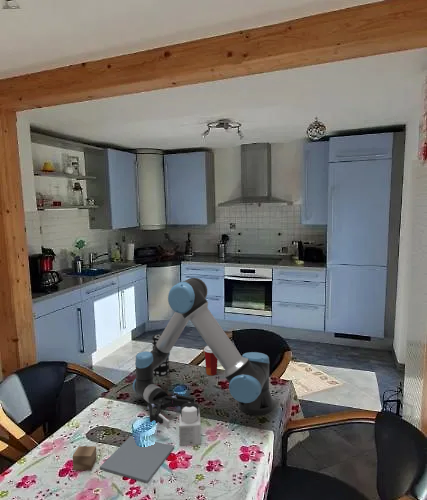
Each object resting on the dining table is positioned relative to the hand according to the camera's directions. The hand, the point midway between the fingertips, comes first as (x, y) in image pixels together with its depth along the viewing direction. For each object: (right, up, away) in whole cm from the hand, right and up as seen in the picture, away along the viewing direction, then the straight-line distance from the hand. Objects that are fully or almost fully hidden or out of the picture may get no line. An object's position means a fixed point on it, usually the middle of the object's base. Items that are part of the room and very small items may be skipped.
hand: (184, 418), depth 135 cm
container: (+2, -7, -1) cm, 8 cm away
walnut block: (-32, -9, -15) cm, 36 cm away
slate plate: (-15, -8, -12) cm, 21 cm away
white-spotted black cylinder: (-17, -2, +55) cm, 58 cm away
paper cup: (+10, -2, +54) cm, 55 cm away
